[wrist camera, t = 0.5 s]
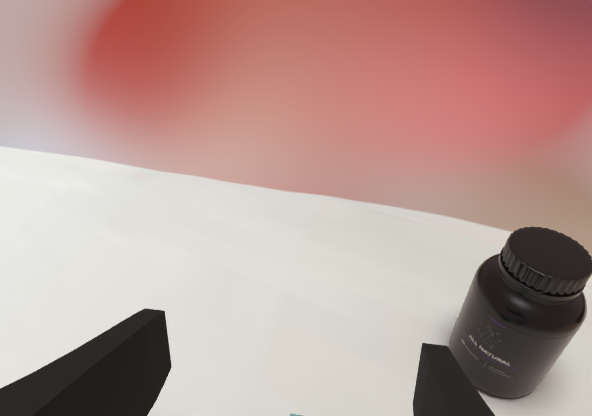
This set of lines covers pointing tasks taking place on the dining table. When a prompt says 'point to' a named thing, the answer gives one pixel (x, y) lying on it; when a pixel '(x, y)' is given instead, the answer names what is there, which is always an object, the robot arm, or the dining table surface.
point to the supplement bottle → (521, 311)
